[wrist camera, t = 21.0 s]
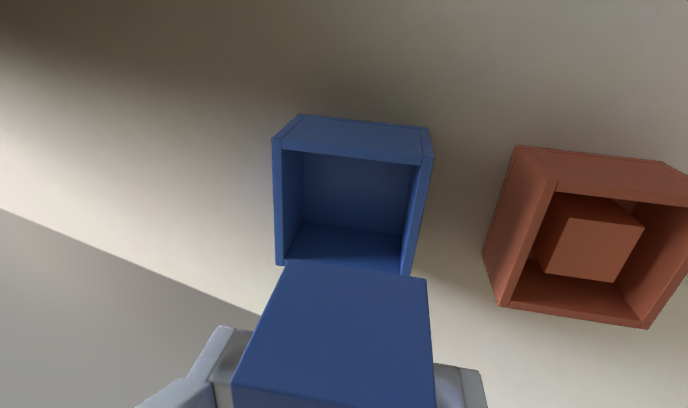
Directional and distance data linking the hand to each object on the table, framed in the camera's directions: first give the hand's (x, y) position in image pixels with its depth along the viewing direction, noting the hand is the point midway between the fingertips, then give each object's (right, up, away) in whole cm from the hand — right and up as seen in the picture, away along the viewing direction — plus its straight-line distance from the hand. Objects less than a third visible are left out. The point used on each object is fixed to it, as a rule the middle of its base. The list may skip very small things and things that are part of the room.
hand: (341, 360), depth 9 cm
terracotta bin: (+15, +4, +15) cm, 21 cm away
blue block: (0, +1, +1) cm, 2 cm away
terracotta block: (+15, +3, +14) cm, 21 cm away
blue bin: (+1, +6, +16) cm, 17 cm away
